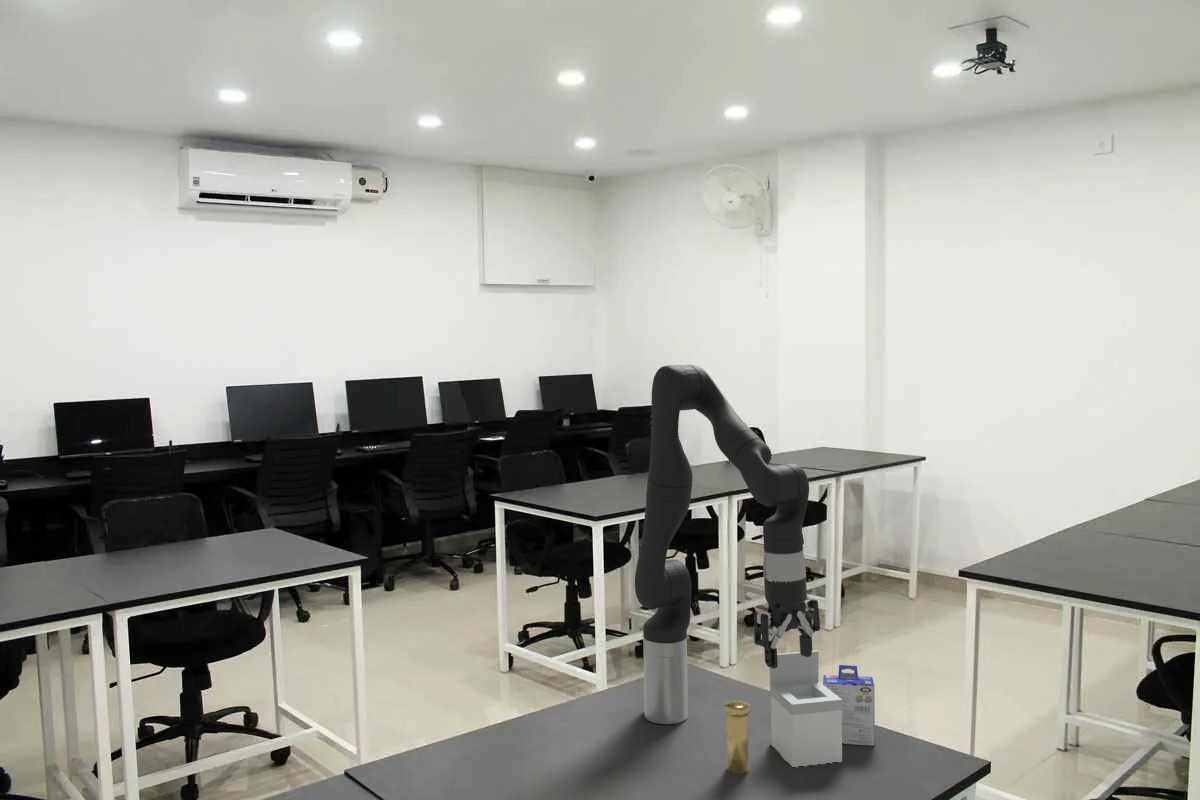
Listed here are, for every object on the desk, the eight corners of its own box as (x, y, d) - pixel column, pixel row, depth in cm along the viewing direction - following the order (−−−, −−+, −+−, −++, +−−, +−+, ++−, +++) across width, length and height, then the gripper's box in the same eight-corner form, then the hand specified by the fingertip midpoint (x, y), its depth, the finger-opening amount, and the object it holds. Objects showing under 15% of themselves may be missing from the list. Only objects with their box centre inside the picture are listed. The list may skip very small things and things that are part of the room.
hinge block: (770, 744, 183) (769, 654, 182) (817, 739, 185) (817, 650, 184) (792, 767, 173) (792, 672, 172) (842, 762, 175) (842, 668, 174)
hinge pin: (721, 764, 174) (720, 702, 174) (745, 762, 175) (744, 699, 175) (730, 776, 170) (729, 712, 169) (754, 773, 171) (754, 709, 170)
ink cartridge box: (873, 735, 187) (873, 664, 186) (875, 747, 181) (875, 674, 180) (822, 732, 189) (822, 662, 188) (823, 743, 183) (823, 671, 182)
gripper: (797, 563, 176) (802, 647, 177) (741, 578, 168) (746, 665, 169) (827, 570, 170) (831, 657, 171) (770, 585, 162) (775, 676, 163)
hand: (789, 661), depth 170 cm, fingers open, 8 cm apart
